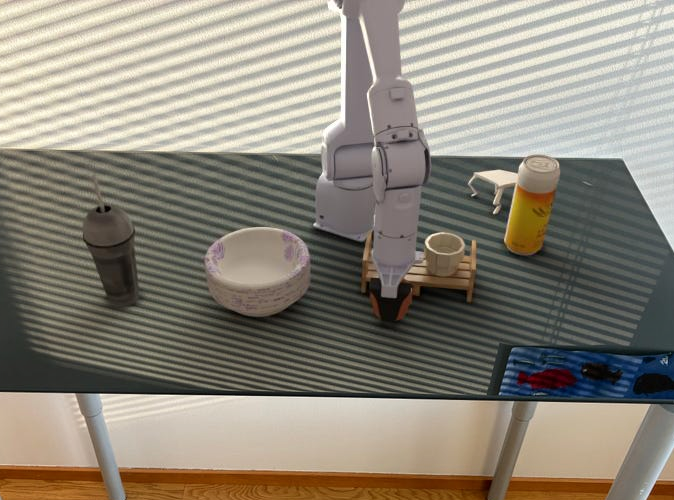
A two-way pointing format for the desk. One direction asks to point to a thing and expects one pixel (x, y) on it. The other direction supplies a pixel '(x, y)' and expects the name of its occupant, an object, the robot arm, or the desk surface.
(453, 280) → the bowl rack
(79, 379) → the desk surface
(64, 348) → the desk surface
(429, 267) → the cream bowl
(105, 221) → the beverage cup
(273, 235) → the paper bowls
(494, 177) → the white miniature table
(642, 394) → the desk surface
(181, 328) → the desk surface
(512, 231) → the beer can
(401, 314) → the terracotta bowl
